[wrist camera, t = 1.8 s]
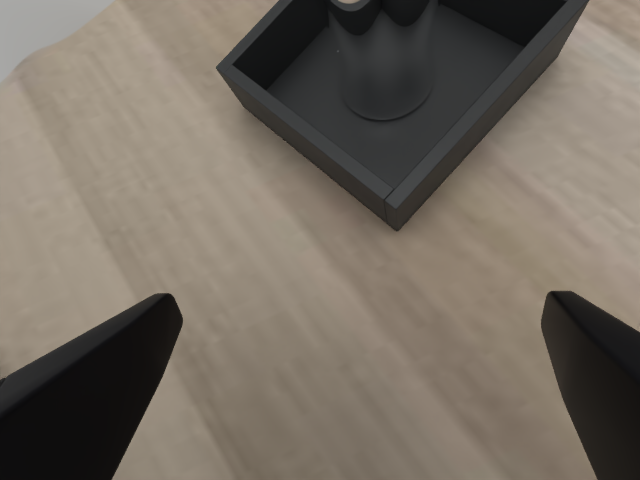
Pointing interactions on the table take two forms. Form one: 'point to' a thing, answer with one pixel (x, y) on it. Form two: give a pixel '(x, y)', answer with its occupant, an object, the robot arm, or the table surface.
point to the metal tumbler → (383, 53)
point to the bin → (413, 128)
